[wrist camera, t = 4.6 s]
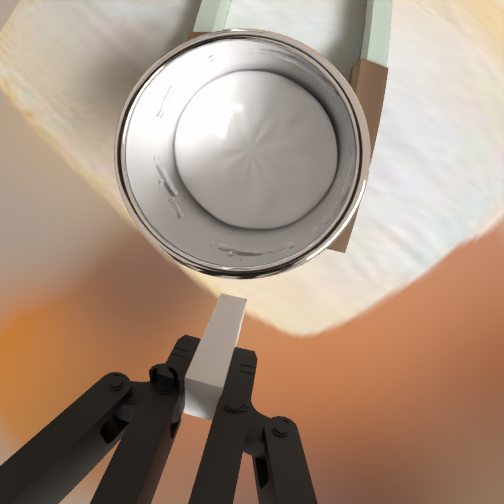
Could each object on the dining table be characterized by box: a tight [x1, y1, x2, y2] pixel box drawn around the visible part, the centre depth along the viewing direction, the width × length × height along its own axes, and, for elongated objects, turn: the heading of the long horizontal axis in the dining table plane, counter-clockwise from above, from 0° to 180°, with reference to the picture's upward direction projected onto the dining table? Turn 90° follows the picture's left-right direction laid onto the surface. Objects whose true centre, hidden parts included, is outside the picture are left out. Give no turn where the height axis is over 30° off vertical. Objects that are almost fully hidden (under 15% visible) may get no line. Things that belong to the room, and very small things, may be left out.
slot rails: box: [187, 32, 388, 253], centre depth 18 cm, size 14×14×3 cm
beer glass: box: [114, 28, 370, 279], centre depth 13 cm, size 7×7×15 cm
